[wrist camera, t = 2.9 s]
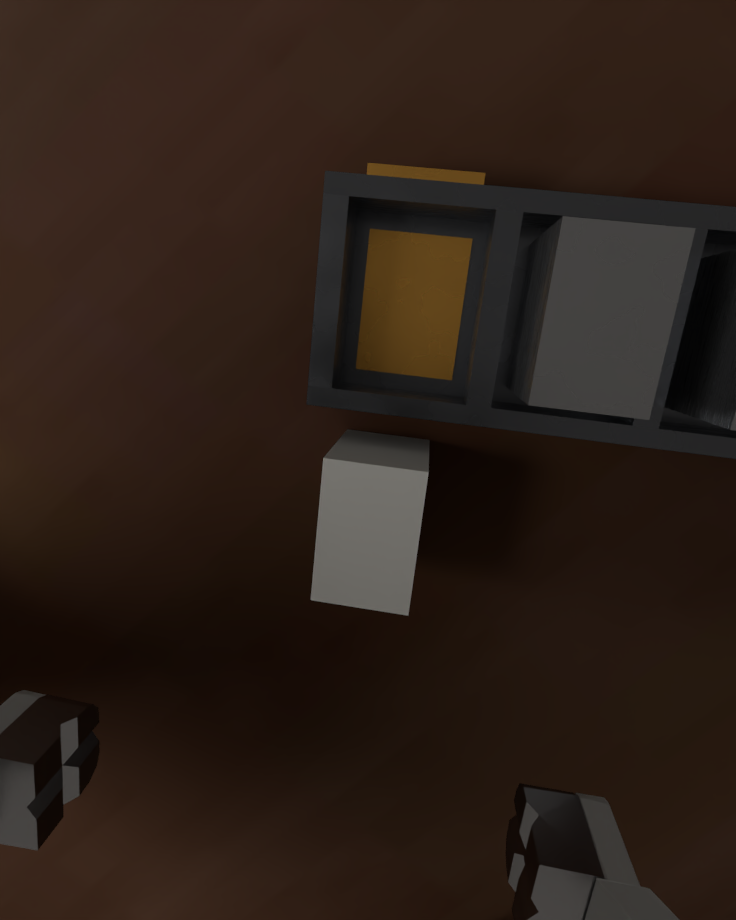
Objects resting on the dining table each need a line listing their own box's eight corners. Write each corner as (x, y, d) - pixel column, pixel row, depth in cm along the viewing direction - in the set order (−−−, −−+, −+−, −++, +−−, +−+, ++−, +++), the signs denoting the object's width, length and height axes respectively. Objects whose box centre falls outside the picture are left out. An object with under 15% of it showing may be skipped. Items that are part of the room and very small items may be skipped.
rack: (321, 395, 26) (285, 417, 19) (340, 181, 24) (305, 127, 17) (778, 452, 24) (902, 497, 18) (847, 226, 22) (1020, 185, 15)
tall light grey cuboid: (336, 543, 28) (310, 600, 22) (347, 429, 26) (323, 458, 20) (413, 554, 27) (408, 615, 22) (429, 439, 26) (428, 472, 20)
